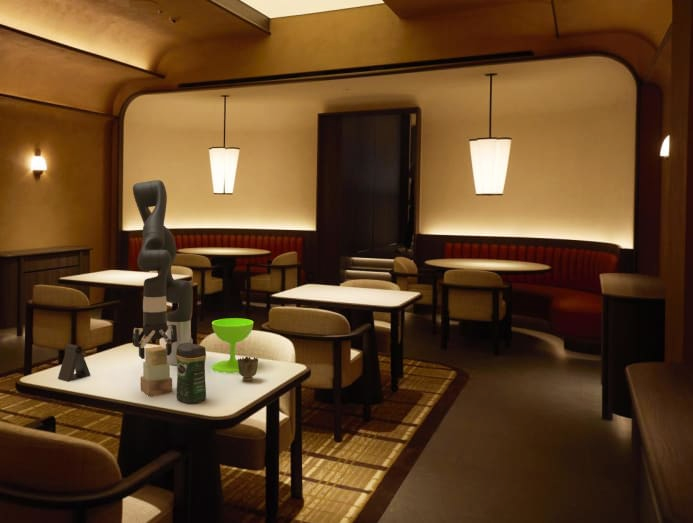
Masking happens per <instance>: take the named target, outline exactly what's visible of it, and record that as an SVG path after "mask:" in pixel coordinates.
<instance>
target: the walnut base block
mask: <svg viewBox="0 0 693 523" xmlns="http://www.w3.org/2000/svg"><path fill="white" fill-rule="evenodd" d="M139 378H140V391H141V392H142V393H143V392H144V393H143V394H145V395H146V396H147V395H148V397H149V396H150V397H155V396H154V395H156V396H159V395H160V394H161V395H165V393H166V394H171V393H170V392H172V393H173V378H172V377H171V376H170V379H164V380H156V381H149V382H148V381H147V379H146V378H145V377H144V376H143V375H142V376H140V377H139Z"/></svg>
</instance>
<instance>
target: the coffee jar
mask: <svg viewBox="0 0 693 523" xmlns="http://www.w3.org/2000/svg"><path fill="white" fill-rule="evenodd" d="M176 358H177V365H176V366H177V368H176V372H177V374H176V377H177V378H176V394H175V395H176V396H175V397H176V399H177V400H179V401H180V402H183V403H186V404H194V403H196V402H198V403H201V402H202V401H204V400H206V399H207V387H206V385H207V384H206V358H207V350H206V347H205V346H204V345H199V344H195V343H193V344H192V343H190V342H189V343H182V344H179V346H178V347H177V351H176ZM200 401H201V402H200ZM196 404H197V403H196Z"/></svg>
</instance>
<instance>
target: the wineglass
mask: <svg viewBox="0 0 693 523" xmlns="http://www.w3.org/2000/svg"><path fill="white" fill-rule="evenodd" d="M211 326H212V330H213V333H214V334H215V335H216V336H217V337H218V339H220V340H221V341H222V342H225V343H229V344H230V345H229V347H230V350H229V354H230V355H229V356H230V357H229V359H228V360H226V359H225V360H221V361H218V362H215V363H214V364H213V365H212V368H211V370H212V371H214V370H215V371H214V372H216V371H218V372H217V373H221V372H226V373H225V374H234V373H233V372H239V368H238V359H236V344H237V343H239V342H242V341H244V340H245V339H246V338H248V337H249V335H250V334H251V332H252V330H253V328H254V321H253V320H251V319H247V318H239V317H238V318H237V317H234V318H221V319H217V320H213V321H212V322H211Z"/></svg>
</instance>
